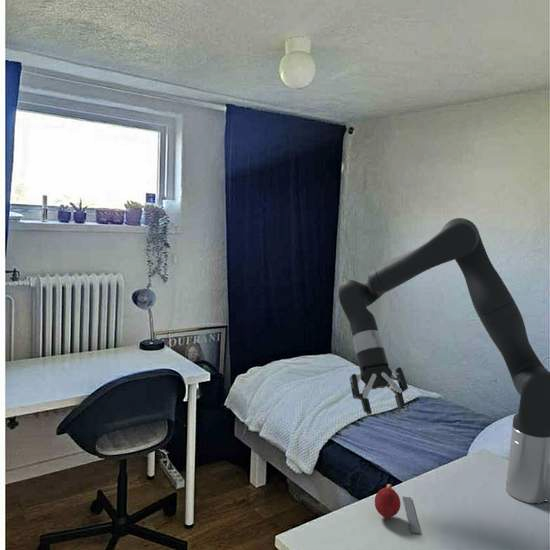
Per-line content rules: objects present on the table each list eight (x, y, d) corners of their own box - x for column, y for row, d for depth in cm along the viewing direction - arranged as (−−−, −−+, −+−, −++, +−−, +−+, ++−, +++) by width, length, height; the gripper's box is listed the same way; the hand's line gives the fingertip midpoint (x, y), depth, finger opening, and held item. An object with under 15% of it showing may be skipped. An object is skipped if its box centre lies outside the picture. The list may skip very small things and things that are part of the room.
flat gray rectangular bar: (410, 498, 121) (411, 497, 121) (420, 534, 107) (420, 532, 107) (402, 497, 121) (402, 496, 121) (411, 533, 108) (411, 531, 108)
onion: (399, 527, 110) (403, 493, 109) (373, 523, 111) (376, 489, 110) (398, 512, 115) (401, 480, 114) (373, 508, 116) (376, 476, 115)
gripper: (347, 349, 126) (362, 413, 120) (399, 342, 129) (417, 404, 122) (341, 358, 133) (355, 418, 126) (390, 351, 135) (406, 410, 129)
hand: (385, 411), depth 124 cm, fingers open, 8 cm apart
